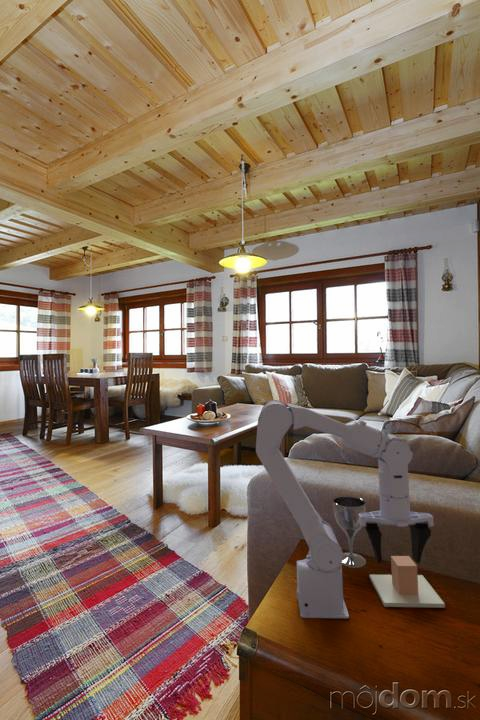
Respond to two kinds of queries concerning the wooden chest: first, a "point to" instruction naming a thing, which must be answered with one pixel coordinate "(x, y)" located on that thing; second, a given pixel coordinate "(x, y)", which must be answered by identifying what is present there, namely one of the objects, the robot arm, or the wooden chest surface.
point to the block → (404, 575)
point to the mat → (393, 599)
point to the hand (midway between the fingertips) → (397, 560)
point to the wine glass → (349, 525)
